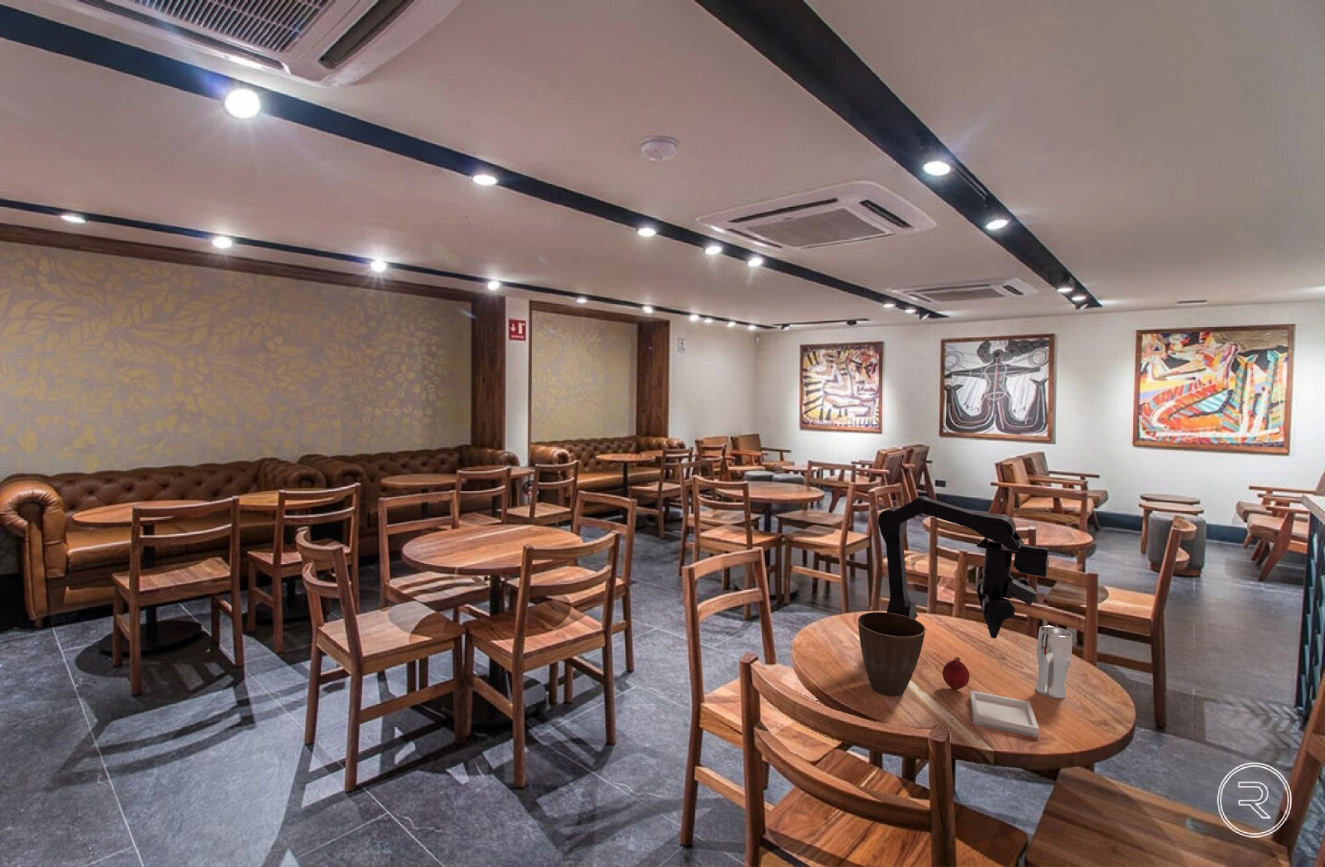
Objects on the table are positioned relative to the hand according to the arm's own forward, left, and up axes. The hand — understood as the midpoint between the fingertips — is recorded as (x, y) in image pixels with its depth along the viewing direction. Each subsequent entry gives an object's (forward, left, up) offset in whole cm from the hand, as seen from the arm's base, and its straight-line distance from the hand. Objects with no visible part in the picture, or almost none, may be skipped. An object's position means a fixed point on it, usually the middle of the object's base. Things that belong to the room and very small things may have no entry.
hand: (990, 630), depth 152 cm
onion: (-7, -8, -13) cm, 17 cm away
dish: (+2, -17, -13) cm, 21 cm away
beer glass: (+14, +1, -13) cm, 19 cm away
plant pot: (-22, -14, -13) cm, 30 cm away
